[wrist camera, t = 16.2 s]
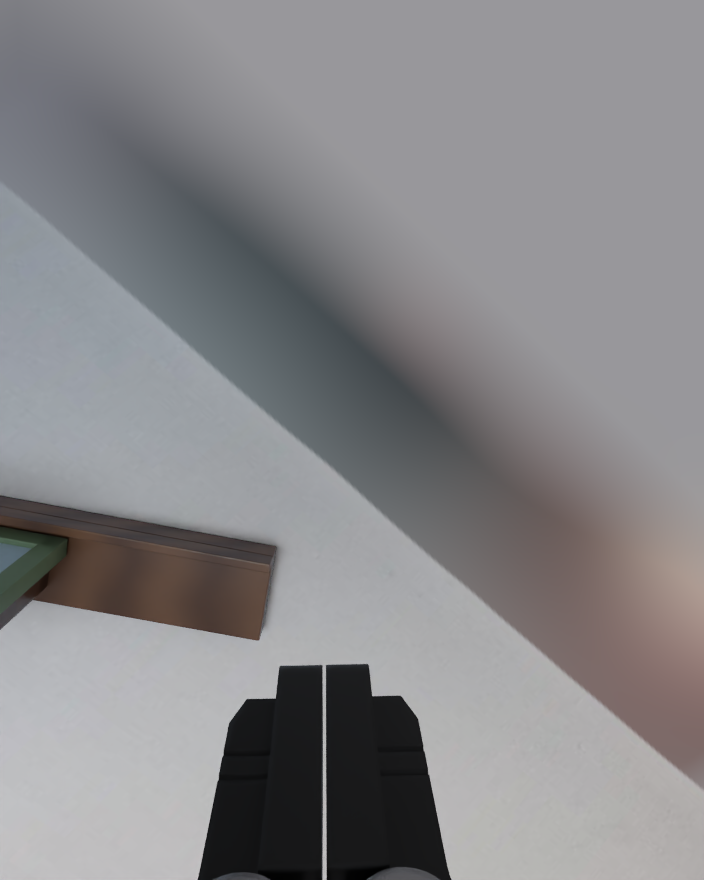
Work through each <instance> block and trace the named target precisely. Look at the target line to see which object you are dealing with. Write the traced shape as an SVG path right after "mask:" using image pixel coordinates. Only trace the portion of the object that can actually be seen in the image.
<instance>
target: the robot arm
mask: <svg viewBox="0 0 704 880" xmlns="http://www.w3.org/2000/svg"><path fill="white" fill-rule="evenodd" d="M326 796H327V880H451V878H450V875H449V871H448V868H447V863H446V858H445V853H444V848H443V843H442V838H441V833H440V828H439V823H438V818H437V813H436V808H435V803H434V798H433V793H432V787H431V782H430V777H429V775H428V767H427V762H426V757H425V752H424V751H423V742H422V737H421V732H420V727H419V722H418V718H417V717H416V715H415V714H414V713H413V711H412V710H411V709H410V708H409V706H408V705H407V704H406V702H405V701H404V700H403V698H402V697H401V696H372V691H371V682H370V673H369V665H368V664H351V665H326ZM322 835H323V697H322V665H307V666H280V668H279V676H278V685H277V694H276V699H247V700H246V701H245V703H244V704H243V705H242V707H241V708H240V709H239V711H238V712H237V713H236V715H235V716H234V717H233V719H232V720H231V722H230V723H229V727H228V732H227V737H226V742H225V747H224V756H223V757H222V762H221V767H220V772H219V781H218V782H217V787H216V793H215V798H214V803H213V808H212V813H211V818H210V823H209V828H208V833H207V838H206V843H205V848H204V853H203V858H202V863H201V868H200V873H199V877H198V880H322Z"/></svg>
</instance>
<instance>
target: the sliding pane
mask: <svg viewBox="0 0 704 880" xmlns="http://www.w3.org/2000/svg"><path fill="white" fill-rule="evenodd" d="M67 540H68V539H66V538H61V537H55V536H50V535H44V534H39V533H33V532H28V531H22V530H17V529H11V528H6V527H0V614H1V613H2V612H4V611H5V610H6V609H7V608H8V607H9V606H10V605H11V604H13V603H14V602H15V601H16V600H17V599H18V598H19V597H20V596H22V595H23V594H24V593H25V592H26V591H27V590H28V589H29V588H31V587H32V586H33V585H34V584H35V583H36V582H37V581H39V580H40V579H41V578H42V577H43V576H44V575H45V574H46V573H48V572H49V571H50V570H51V569H52V568H53V567H54V566H55V565H57V564H58V563H59V562H60V561H61V560H62V559H63V558H64V557H66V553H67Z"/></svg>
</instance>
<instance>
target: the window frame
mask: <svg viewBox="0 0 704 880" xmlns="http://www.w3.org/2000/svg"><path fill="white" fill-rule="evenodd" d="M0 527H6V528H11V529H17V530H22V531H28V532H33V533H39V534H44V535H50V536H55V537H61V538H66V539H68V540H67V553H66V557H64V558H63V559H62V560H61V561H60V562H59V563H58V564H57V565H55V566H54V567H53V568H52V569H51V570H50V571H49V572H48V573H46V574H45V575H44V576H43V577H42V578H41V579H40V580H39V581H37V582H36V583H35V584H34V585H33V586H32V587H31V588H29V589H28V590H27V591H26V592H25V593H24V594H23V595H22V596H20V597H19V598H18V599H17V600H16V601H15V602H14V603H13V604H11V605H10V606H9V607H8V608H7V609H6V610H5V611H4V612H2V613H1V614H0V630H1V629H2V628H3V627H4V626H5V625H6V624H7V623H8V622H9V621H10V620H11V619H12V618H13V617H15V616H16V615H17V614H18V613H19V612H20V611H21V610H22V609H23V608H24V607H25V606H26V605H27V604H29V603H30V602H31V601H32V600H36V601H42V602H48V603H53V604H59V605H64V606H70V607H75V608H81V609H86V610H92V611H97V612H103V613H108V614H114V615H120V616H125V617H131V618H136V619H142V620H147V621H153V622H158V623H164V624H169V625H175V626H180V627H186V628H191V629H197V630H203V631H208V632H214V633H219V634H225V635H230V636H236V637H241V638H247V639H252V640H259V639H260V636H261V633H262V629H263V625H264V619H265V613H266V607H267V601H268V595H269V589H270V583H271V577H272V571H273V565H274V559H275V554H276V547H275V546H269V545H264V544H258V543H253V542H248V541H242V540H237V539H231V538H226V537H220V536H215V535H209V534H204V533H199V532H193V531H188V530H182V529H177V528H171V527H166V526H160V525H155V524H150V523H144V522H139V521H133V520H128V519H122V518H117V517H111V516H106V515H101V514H95V513H90V512H84V511H79V510H73V509H68V508H62V507H57V506H52V505H46V504H41V503H35V502H30V501H24V500H19V499H14V498H8V497H3V496H0Z"/></svg>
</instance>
